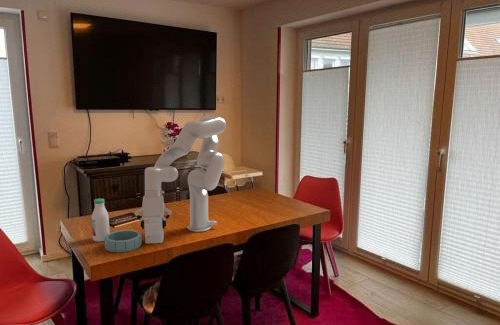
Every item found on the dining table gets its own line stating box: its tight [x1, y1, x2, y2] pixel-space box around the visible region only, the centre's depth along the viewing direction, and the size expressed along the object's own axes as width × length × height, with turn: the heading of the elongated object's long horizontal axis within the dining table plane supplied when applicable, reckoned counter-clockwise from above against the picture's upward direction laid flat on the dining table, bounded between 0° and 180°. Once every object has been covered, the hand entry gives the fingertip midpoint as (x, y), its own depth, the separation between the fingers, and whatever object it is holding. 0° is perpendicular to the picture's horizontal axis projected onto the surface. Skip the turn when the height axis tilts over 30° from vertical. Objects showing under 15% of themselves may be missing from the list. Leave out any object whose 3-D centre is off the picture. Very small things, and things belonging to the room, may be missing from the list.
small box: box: [144, 216, 165, 244], centre depth 180 cm, size 8×6×13 cm
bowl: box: [103, 229, 143, 253], centre depth 175 cm, size 16×16×5 cm
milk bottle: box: [91, 198, 111, 243], centre depth 182 cm, size 8×8×20 cm
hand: (153, 228), depth 180 cm, fingers open, 9 cm apart
